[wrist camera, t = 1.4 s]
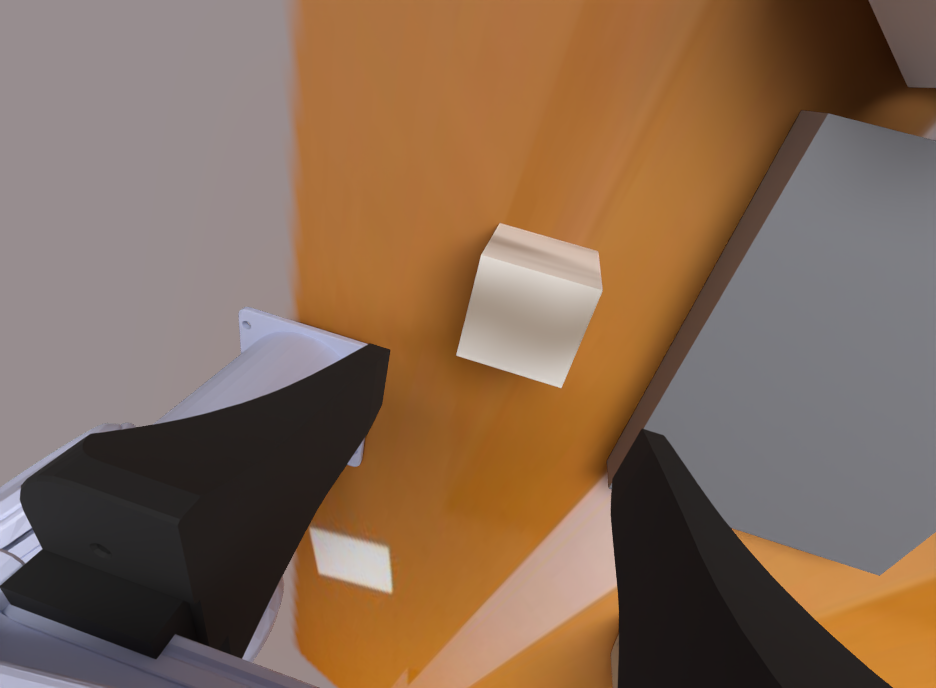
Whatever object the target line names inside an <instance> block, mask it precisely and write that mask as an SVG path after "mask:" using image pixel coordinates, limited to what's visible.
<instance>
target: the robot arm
mask: <svg viewBox="0 0 936 688" xmlns="http://www.w3.org/2000/svg"><path fill="white" fill-rule="evenodd" d="M247 322H249V323H250V325H251V326H250V325H249V324H248V323H247ZM239 328H240V344H241V354H240V355H239V356H238V357H237V358H236V359H234V360H233V361H232V362H231V363H229V364H228V365H227V366H226V367H224V368H223V369H222V370H221V371H219V372H218V373H217V374H215V375H214V376H213V377H212V378H210V379H209V380H208V381H207V382H205V383H204V384H203V385H202V386H200V387H199V388H198V389H197V390H195V391H194V392H193V393H192V394H190V395H189V396H188V397H187V398H185V399H184V400H183V401H182V402H181V403H179V404H178V405H176V406H175V407H174V408H173V409H171V410H170V411H169V412H168V413H166V414H165V415H164V416H163V417H162V418H160V419H159V420H158V421H156V422H155V423H154V424H153V425H148V426H142V427H136V426H135V425H134V424H132V423H123V424H121V425H120V424H106V423H105V424H102V425H99V426H97V427H95V428H93V429H91V430H89V431H87V432H86V433H84V434H82V435H80V436H79V437H77V438H75V439H74V440H72V441H70V442H69V443H67V444H65V445H64V446H62V447H60V448H59V449H57V450H56V451H54V452H53V453H51V454H49V455H48V456H46V457H45V458H43V459H42V460H40V461H39V462H37V463H35V464H34V465H32V466H31V467H29V468H28V469H26V470H25V471H23V472H22V473H20V474H19V475H18V476H16V477H14V478H13V479H12V480H10V481H8V482H7V483H6V484H4V485H3V486H1V487H0V688H319V687H316V686H313V685H311V684H308V683H305V682H303V681H300V680H297V679H295V678H292V677H289V676H286V675H283V674H281V673H278V672H276V671H273V670H270V669H267V668H265V667H262V666H259V665H257V664H254V663H252V662H253V660H254V659H255V658H256V656H257V655H258V653H259V652H260V650H261V648H262V647H263V645H264V643H265V642H266V640H267V638H268V636H269V634H270V632H271V630H272V627H273V625H274V623H275V620H276V617H277V613H278V610H279V607H280V605H281V600H282V596H283V590H284V581H283V574H284V571H285V570H286V568H287V566H288V564H289V562H290V560H291V558H292V556H293V554H294V552H295V550H296V549H297V547H298V545H299V543H300V541H301V539H302V537H303V535H304V533H305V531H306V530H307V528H308V526H309V524H310V522H311V520H312V518H313V517H314V515H315V513H316V511H317V509H318V508H319V506H320V504H321V503H322V501H323V499H324V498H325V496H326V495H327V493H328V492H329V490H330V489H331V487H332V486H333V484H334V483H335V481H336V480H337V478H338V477H339V475H340V474H341V472H342V471H343V469H344V468H345V467H346V465H350V466H354V467H356V466H359V465H360V463H361V461H362V456H363V449H364V441H365V437H366V435H367V434H368V432H369V430H370V428H371V426H372V424H373V422H374V420H375V418H376V416H377V414H378V412H379V410H380V408H381V406H382V402H383V395H384V388H385V382H386V375H387V369H388V362H389V355H390V349H386V348H383V347H380V346H377V345H374V344H366V343H363V342H360V341H357V340H353V339H350V338H347V337H344V336H341V335H337V334H334V333H331V332H328V331H325V330H321V329H318V328H315V327H312V326H309V325H305V324H302V323H299V322H296V321H293V320H289V319H286V318H283V317H280V316H277V315H273V314H270V313H267V312H264V311H261V310H257V309H254V308H251V307H244V308H243V309H241V310H240V311H239ZM611 523H612V535H613V546H614V556H615V566H616V577H617V587H618V601H619V659H618V688H893V687H891V686H890V685H889V684H888V683H886V682H885V681H884V680H883V679H881V678H880V677H879V676H878V675H876V674H875V673H874V672H873V671H872V670H871V669H869V668H868V667H867V666H866V665H865V664H864V663H862V662H861V661H860V660H859V659H858V658H857V657H856V656H855V655H853V654H852V653H851V652H850V651H849V650H848V649H847V648H845V647H844V646H843V645H842V644H841V643H840V642H839V641H838V640H836V639H835V638H834V637H833V636H832V635H831V634H830V633H829V632H828V631H827V630H826V629H825V628H823V627H822V626H821V625H820V624H819V623H818V622H817V621H816V620H815V619H814V618H813V617H812V616H811V615H810V614H809V613H808V612H807V611H806V610H805V609H804V608H803V607H802V606H801V605H800V604H799V603H798V602H797V601H796V600H795V599H794V598H793V597H792V596H791V595H790V594H789V593H788V592H787V591H786V590H785V589H784V588H783V587H782V586H781V585H780V584H779V583H778V582H777V581H776V580H775V579H774V578H773V577H772V576H771V575H770V573H769V572H768V571H767V570H766V569H765V568H764V567H763V566H762V565H761V563H760V562H759V561H758V560H757V559H756V558H755V557H754V556H753V554H752V553H751V552H750V551H749V550H748V549H747V548H746V546H745V545H744V544H743V543H742V542H741V540H740V539H739V538H738V537H737V535H736V534H735V533H734V532H733V530H732V529H731V528H730V527H729V525H728V524H727V523H726V521H725V520H724V519H723V518H722V516H721V515H720V514H719V512H718V511H717V510H716V508H715V507H714V506H713V504H712V503H711V502H710V500H709V499H708V497H707V496H706V495H705V493H704V492H703V490H702V489H701V488H700V486H699V485H698V483H697V482H696V480H695V479H694V477H693V476H692V475H691V473H690V472H689V470H688V469H687V467H686V466H685V464H684V463H683V461H682V460H681V458H680V457H679V456H678V454H677V453H676V451H675V450H674V448H673V447H672V445H671V444H670V443H669V441H668V440H667V439H666V437H665V436H664V435H661V434H658V433H655V432H652V431H649V430H645V429H641V431H640V432H639V434H638V436H637V437H636V439H635V441H634V443H633V444H632V446H631V448H630V449H629V451H628V453H627V455H626V456H625V458H624V460H623V461H622V463H621V465H620V467H619V468H618V470H617V472H616V473H615V475H614V477H613V479H612V493H611Z"/></svg>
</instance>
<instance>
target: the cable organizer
mask: <svg viewBox="0 0 936 688" xmlns="http://www.w3.org/2000/svg"><path fill="white" fill-rule="evenodd" d="M868 1H869V3H870V5H871V7H872V9H873V12H874V14H875V16H876V18H877V20H878V23H879V25H880V27H881V29H882V31H883V34H884V36H885V38H886V40H887V42H888V45H889V47H890V49H891V51H892V53H893V56H894V58H895V60H896V62H897V64H898V67H899V69H900V71H901V73H902V75H903V78H904V80H905V82H906V84H907V86H908V87H919V88H936V0H868Z"/></svg>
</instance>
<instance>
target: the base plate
mask: <svg viewBox="0 0 936 688" xmlns="http://www.w3.org/2000/svg"><path fill="white" fill-rule="evenodd" d="M641 429H645V430H649V431H652V432H655V433H658V434H661V435H664V436H665V437H666V439H667V440H668V441H669V443H670V444H671V445H672V447H673V448H674V450H675V451H676V453H677V454H678V456H679V457H680V458H681V460H682V461H683V463H684V464H685V466H686V467H687V469H688V470H689V472H690V473H691V475H692V476H693V477H694V479H695V480H696V482H697V483H698V485H699V486H700V488H701V489H702V490H703V492H704V493H705V495H706V496H707V497H708V499H709V500H710V502H711V503H712V504H713V506H714V507H715V508H716V510H717V511H718V512H719V514H720V515H721V516H722V518H723V519H724V520H725V521H726V523H727V524H728V525H729V527H730V528H733V529H736V530H739V531H743V532H746V533H749V534H752V535H755V536H758V537H761V538H764V539H767V540H770V541H774V542H777V543H780V544H783V545H786V546H789V547H792V548H795V549H798V550H801V551H805V552H808V553H811V554H814V555H817V556H820V557H823V558H826V559H829V560H832V561H836V562H839V563H842V564H845V565H848V566H851V567H854V568H857V569H860V570H863V571H867V572H870V573H873V574H876V575H879V576H880V575H881V574H882V573H884V572H885V571H886V570H887V569H889V568H890V567H891V566H893V565H894V564H895V563H896V562H898V561H899V560H900V559H902V558H903V557H904V556H905V555H907V554H908V553H909V552H911V551H912V550H913V549H914V548H916V547H917V546H918V545H919V544H921V543H922V542H923V541H925V540H926V539H927V538H928V537H930V536H931V535H932V534H934V533H935V532H936V141H934V140H930V139H926V138H923V137H919V136H915V135H911V134H907V133H903V132H899V131H895V130H891V129H887V128H884V127H880V126H876V125H872V124H868V123H864V122H860V121H856V120H852V119H848V118H845V117H841V116H837V115H833V114H829V113H821V112H812V111H804V110H801V112H800V114H799V116H798V117H797V119H796V121H795V123H794V125H793V126H792V128H791V130H790V132H789V134H788V135H787V137H786V139H785V141H784V143H783V144H782V146H781V148H780V150H779V152H778V153H777V155H776V157H775V159H774V161H773V162H772V164H771V166H770V168H769V170H768V171H767V173H766V175H765V177H764V179H763V180H762V182H761V184H760V186H759V188H758V189H757V191H756V193H755V195H754V197H753V198H752V200H751V202H750V204H749V206H748V207H747V209H746V211H745V213H744V215H743V216H742V218H741V220H740V222H739V224H738V226H737V227H736V229H735V231H734V233H733V235H732V236H731V238H730V240H729V242H728V244H727V245H726V247H725V249H724V251H723V253H722V254H721V256H720V258H719V260H718V262H717V263H716V265H715V267H714V269H713V271H712V272H711V274H710V276H709V278H708V280H707V281H706V283H705V285H704V287H703V289H702V290H701V292H700V294H699V296H698V298H697V299H696V301H695V303H694V305H693V307H692V308H691V310H690V312H689V314H688V316H687V317H686V319H685V321H684V323H683V325H682V326H681V328H680V330H679V332H678V334H677V335H676V337H675V339H674V341H673V343H672V344H671V346H670V348H669V350H668V352H667V353H666V355H665V357H664V359H663V361H662V362H661V364H660V366H659V368H658V370H657V371H656V373H655V375H654V377H653V379H652V380H651V382H650V384H649V386H648V388H647V389H646V391H645V393H644V395H643V397H642V398H641V400H640V402H639V404H638V406H637V407H636V409H635V411H634V413H633V415H632V417H631V418H630V420H629V422H628V424H627V426H626V427H625V429H624V431H623V433H622V435H621V436H620V438H619V440H618V442H617V444H616V445H615V447H614V449H613V451H612V453H611V454H610V456H609V458H608V460H607V472H608V486H609V489H612V479H613V477H614V475H615V473H616V472H617V470H618V468H619V467H620V465H621V463H622V461H623V460H624V458H625V456H626V455H627V453H628V451H629V449H630V448H631V446H632V444H633V443H634V441H635V439H636V437H637V436H638V434H639V432H640V431H641Z"/></svg>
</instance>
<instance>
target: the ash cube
mask: <svg viewBox="0 0 936 688" xmlns="http://www.w3.org/2000/svg"><path fill="white" fill-rule="evenodd" d="M602 291H603V290H602V281H601V272H600V263H599V254H598V251H595V250H592V249H588V248H585V247H581V246H578V245H574V244H571V243H567V242H564V241H560V240H557V239H553V238H550V237H547V236H543V235H540V234H536V233H533V232H529V231H526V230H522V229H519V228H515V227H512V226H508V225H505V224H501V223H499V225H498V227H497V229H496V230H495V232H494V234H493V235H492V237H491V239H490V241H489V242H488V244H487V246H486V247H485V249H484V251H483V253H482V254H481V258H480V262H479V266H478V270H477V274H476V278H475V282H474V286H473V290H472V294H471V298H470V302H469V306H468V310H467V314H466V318H465V322H464V326H463V330H462V334H461V338H460V342H459V346H458V350H457V354H456V356H459V357H463V358H466V359H469V360H472V361H476V362H479V363H482V364H485V365H488V366H492V367H495V368H498V369H501V370H505V371H508V372H511V373H514V374H517V375H521V376H524V377H527V378H530V379H533V380H537V381H540V382H543V383H546V384H550V385H553V386H556V387H559V388H562V385H563V383H564V381H565V378H566V376H567V373H568V371H569V369H570V366H571V364H572V362H573V359H574V357H575V355H576V352H577V350H578V347H579V345H580V343H581V340H582V338H583V336H584V333H585V331H586V328H587V326H588V324H589V321H590V319H591V317H592V314H593V312H594V310H595V307H596V305H597V302H598V300H599V298H600V295H601V293H602Z"/></svg>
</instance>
